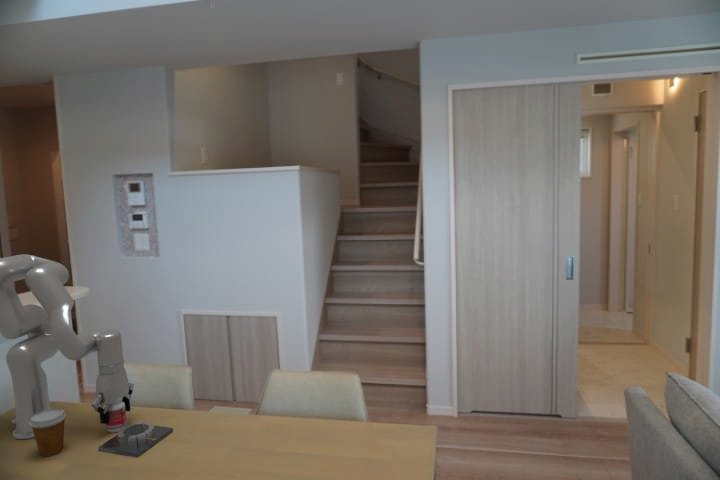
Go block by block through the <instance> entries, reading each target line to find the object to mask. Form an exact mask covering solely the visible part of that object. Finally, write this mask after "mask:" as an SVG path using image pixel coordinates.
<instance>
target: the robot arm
mask: <svg viewBox="0 0 720 480" xmlns="http://www.w3.org/2000/svg"><path fill="white" fill-rule="evenodd" d="M69 277H70V273H69V270H68V269H67V267H66V266H65V265H63V264H62V263H60V262H58V261H55V260H52V259H51V260H50V259H47V258H44V257H39V256H36V255H31V254H28V253H27V254H25V253H23V254H16V255H12V256H5V257H0V334H1V336H2V337H3V338H4V339H7V340H15V339H18V338H21V337H23V336H27V338H25V339H22V340H21V341H18V342H16V343H15V344H14V345H12V346H11V347H10V348H9V349H8V350H7V353H6V354H5V361H6V365H7V368H8V371H9V373H10V377H11V381H12V389H13V397H14V406H15V418H13V419H12V420H11V424H15V426H16V427H15V428H14V429H13V431H12V437H13V438H15V439H18V440H28V439H29V440H30V439H33V438H34V439H35V436H34V432H33V428H32V427H31V425H30V421H31V418H32V417H33V416H34V415H35V414H37V413H39V412H42V411H45V410H49V409H51V406H50V405H51V404H50V395H49V386H48V378H47V373H46V372H45V370H44V368H42V365H41V364H42V363H43V362H45V361H47V360H49V359H51V358H52V357H54V356H55V355H56V354H57V353H58V352H60V353H61V355H63V356H64V357H65V358H67V359H68V360H70V361H81V360H82V359H85V358H86V357H88V356H89V355H92V354H93V353H95V352H96V355H97V364H98V366H97V367H98V375H96V382H95V383H96V384H95V399H94V400H93V402H92V403H91V407H92V409H94V411H95V412H97V413H99V422H100V424H104V425H106V424H109V413H108V412H107V409H108V407H109V405H110V404H112V403H114V402H115V401H116V400H117V399H118V398H120V397H122V401H123V402H124V403H125V410H126V412H130V411H131V402H130V401H131V398H132V394H133V390H134V386H135V384H134V383H132V382H129V380H128V378H129V377H128V375H127V371H126V368H125V366H124V365H125V359H124V352H123V342H122V334H121V332H120V331H118V330H99V329H87V330H85V331H84V332H80V333H79V334H77V333H76V332H75V331H74V329H73V328H72V325H71V323H70V314H71V312H72V309H73V308H74V305H75V300H74V298H73V297H72V296H71V294H70V293H69V291H68V290H67V289H66V287H65V286H64V285H65V284H66V283H67V282H68V281H69ZM22 280H24V283H25V285H26V286H27V288H28V289H29V290H30V291H31V293H32V294H33V296H34V297H35V299H36V301H38V303H39V304H40V305H41V306H40V305H38V304H33V303H31V304H30V303H29V304H26V305H24V304H23V303H22V301H21V299H20V296H19V295H18V293H17V292H16V291H15V290H14V288H12V287H11V286H9V284H11V283H14V282H17V281H22Z"/></svg>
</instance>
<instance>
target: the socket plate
mask: <svg viewBox="0 0 720 480" xmlns="http://www.w3.org/2000/svg"><path fill="white" fill-rule="evenodd" d="M173 432H174V427H169V426H162V425H161V426H160V425H155V424H154V423H153V422H150V423H145V421H138V422H133V423H130V424H127V426H125V427H123V428H122V429H120V430H119V431H118V432H117V434H116V435H115V436H113V437H112V438H110V439H109V440H107V441H106V442H104V443H102V444H101V445H99V446H98V452H103V453H109V454H115V455H122V456H128V457H133V458H139V457H140V456H141V455H143V454H145V453H146V452H147V451H148V450H150V449H151V448H153V447H154V446H156V445H157V444H158V443H160V442H161V441H162V440H163V439H165V438H166V437H168V436H169V435H171V433H173Z"/></svg>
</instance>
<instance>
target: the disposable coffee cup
mask: <svg viewBox="0 0 720 480" xmlns="http://www.w3.org/2000/svg"><path fill="white" fill-rule="evenodd" d="M66 416H67V413H66V412H65V410H64V409H62V408H50V409H49V410H45V411H42V412H39V413H37V414H35V415H34V416H33V417H32V418H31V421H30V425H31V427H32V428H33V432H34V436H35V437H34V439H35V442H36V446H37V451H38V453H39V456H40V457H43V458H44V457H45V458H46V457H52V456H55V455H57V454H59V453H61V452H62V451H63V450H64V444H65V443H64V440H65V420H66Z"/></svg>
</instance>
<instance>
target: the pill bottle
mask: <svg viewBox="0 0 720 480" xmlns="http://www.w3.org/2000/svg"><path fill="white" fill-rule="evenodd" d="M122 399H123V398H122V397H120V398H118V399H117V400H116V401H115V402H114V403H112V404H110V405H109V407H108V409H107V412H108V413H109V424H105V425H106V431H107V432H108V433H116V432H117V433H118V432H119V430H120V429H122V428H123V427H125V426H127V425H128V424H127V414H126V412H127V411H126V410H125V403H124V402H123V401H122Z"/></svg>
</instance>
